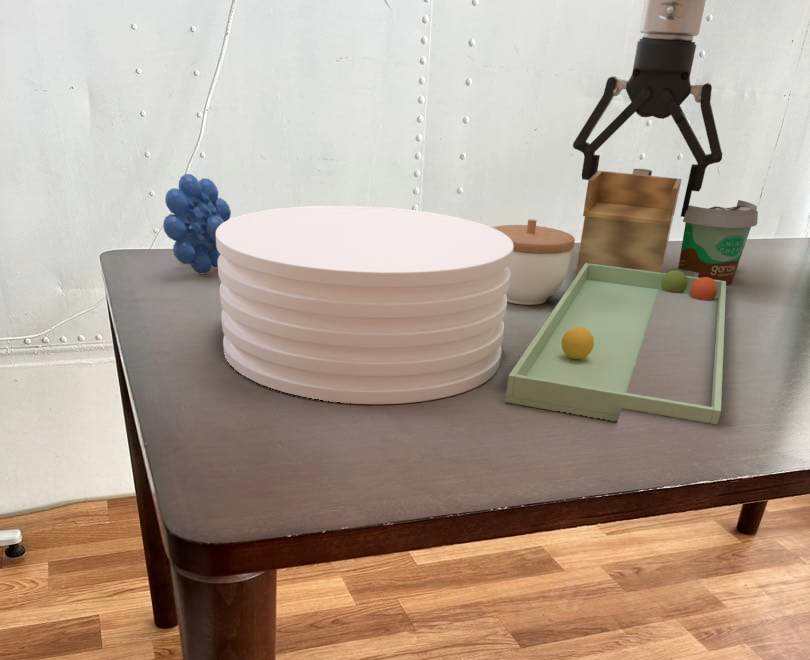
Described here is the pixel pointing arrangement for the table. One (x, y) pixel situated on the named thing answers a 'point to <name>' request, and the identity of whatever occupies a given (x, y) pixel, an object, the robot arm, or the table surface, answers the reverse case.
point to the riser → (623, 244)
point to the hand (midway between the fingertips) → (635, 210)
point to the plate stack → (363, 302)
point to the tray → (605, 350)
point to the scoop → (632, 197)
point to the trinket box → (536, 261)
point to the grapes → (195, 221)
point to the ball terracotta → (704, 289)
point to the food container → (715, 240)
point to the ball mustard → (577, 343)
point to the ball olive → (674, 282)
